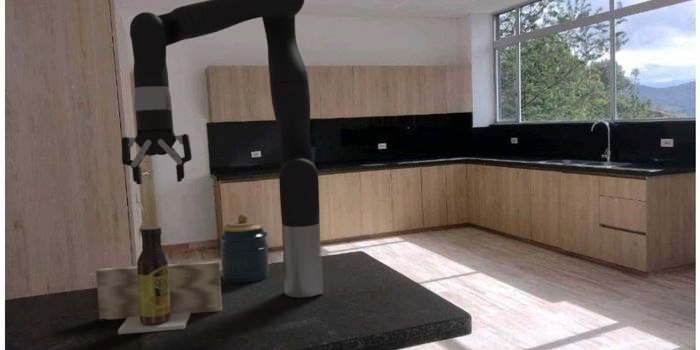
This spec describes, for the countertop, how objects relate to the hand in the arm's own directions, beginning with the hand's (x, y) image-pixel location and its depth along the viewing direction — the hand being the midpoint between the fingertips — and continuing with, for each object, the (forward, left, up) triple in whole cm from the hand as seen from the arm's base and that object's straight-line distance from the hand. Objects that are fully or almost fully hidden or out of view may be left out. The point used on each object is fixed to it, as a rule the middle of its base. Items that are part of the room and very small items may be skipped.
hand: (159, 182), depth 118 cm
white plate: (+1, +7, -29) cm, 30 cm away
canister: (-16, -26, -30) cm, 42 cm away
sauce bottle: (+1, +7, -29) cm, 30 cm away
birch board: (+1, +1, -29) cm, 29 cm away
